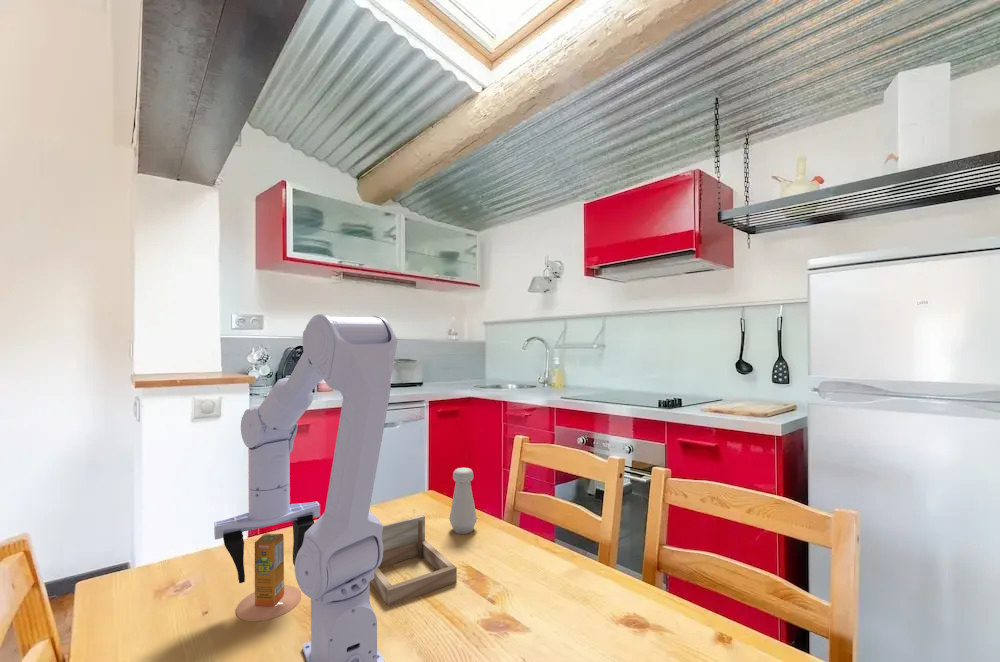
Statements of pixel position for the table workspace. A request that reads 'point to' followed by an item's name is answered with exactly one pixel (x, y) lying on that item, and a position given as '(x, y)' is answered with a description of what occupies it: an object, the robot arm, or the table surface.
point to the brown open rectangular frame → (405, 544)
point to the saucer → (259, 613)
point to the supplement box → (269, 569)
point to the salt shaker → (463, 502)
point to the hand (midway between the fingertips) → (269, 572)
